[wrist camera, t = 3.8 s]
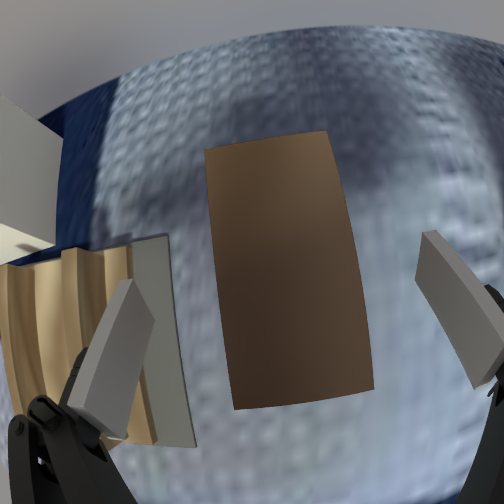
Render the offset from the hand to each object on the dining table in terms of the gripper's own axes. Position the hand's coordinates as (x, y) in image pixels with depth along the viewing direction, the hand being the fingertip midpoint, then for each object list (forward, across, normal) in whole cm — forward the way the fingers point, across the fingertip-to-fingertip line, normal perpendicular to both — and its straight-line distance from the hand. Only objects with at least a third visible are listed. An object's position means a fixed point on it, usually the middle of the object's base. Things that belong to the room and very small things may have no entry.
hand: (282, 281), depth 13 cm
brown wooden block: (+5, 0, -5) cm, 7 cm away
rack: (+3, -18, -7) cm, 19 cm away
